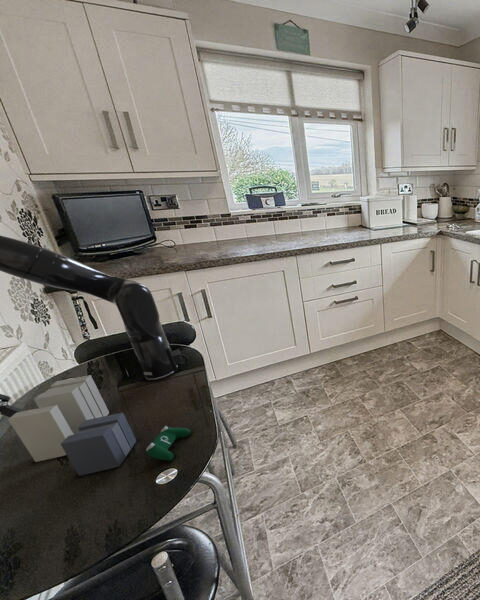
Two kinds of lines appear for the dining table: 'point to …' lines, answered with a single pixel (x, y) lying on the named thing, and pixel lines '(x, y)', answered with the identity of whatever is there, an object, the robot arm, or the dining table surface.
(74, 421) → the white books
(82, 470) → the grey books
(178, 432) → the gaming controller
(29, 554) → the dining table surface
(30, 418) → the white book
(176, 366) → the robot arm
